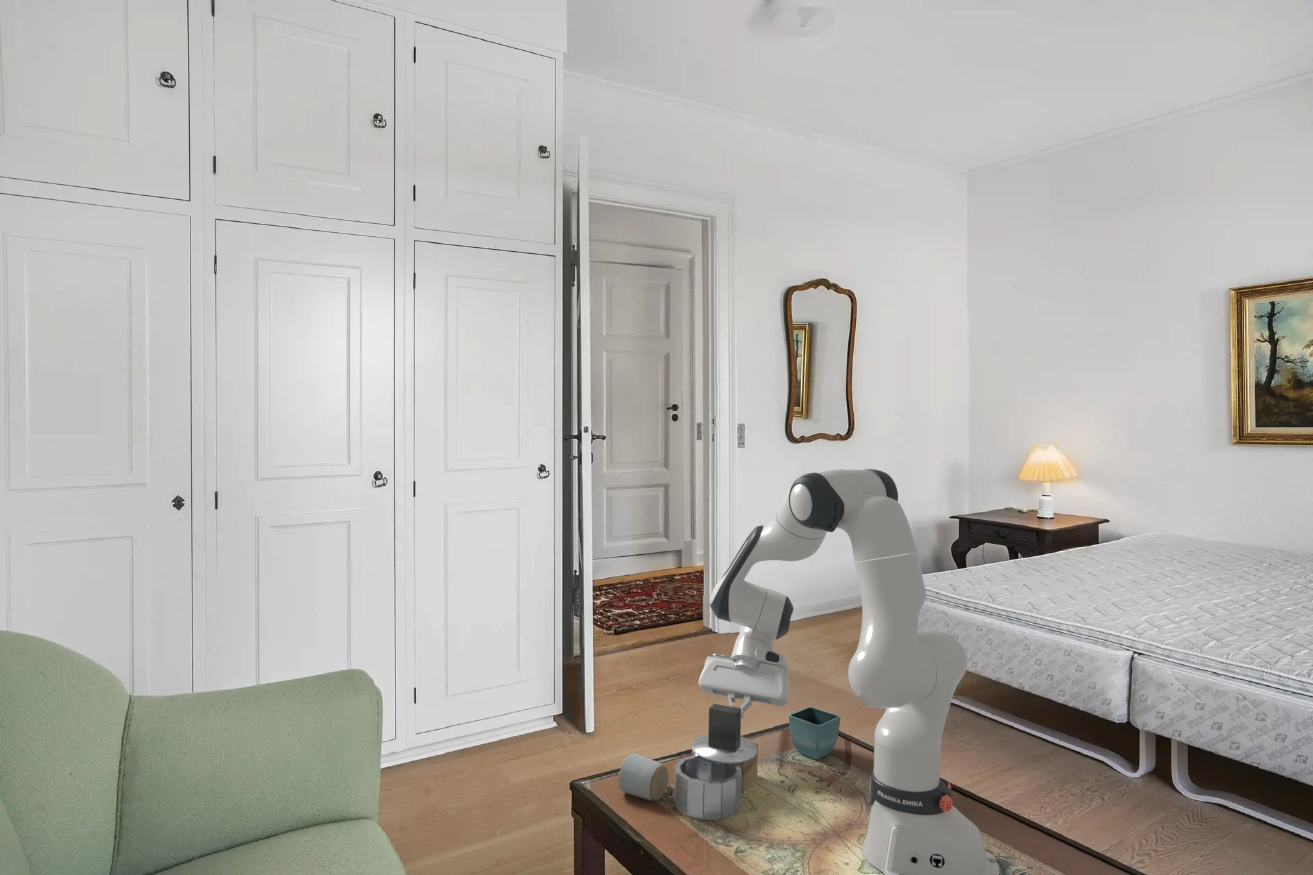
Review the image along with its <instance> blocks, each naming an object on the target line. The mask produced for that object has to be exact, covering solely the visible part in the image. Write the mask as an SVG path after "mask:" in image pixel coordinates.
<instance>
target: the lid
mask: <svg viewBox="0 0 1313 875" xmlns="http://www.w3.org/2000/svg"><path fill="white" fill-rule="evenodd" d="M741 726H742V718H741V709H740V708H735V707H730V705H723V704H716V703H714V704H712V705H711V706H710V707H708V734H704V735H701V736H698V737H697V738H695V739H694V740H693V741H692V743H691V752H692V754H693V755H696V756H697V757H698V758H700V759H702V760H705V761H708V762H711V763H716V764H740V763H744V762H748V761H750V760H752V759H753V758H754V757H755V756H756V755H757V746H756V745H755V744H756V743H755V742H754V741H753V740H751V739H749V738H747V737H744V736H741V732H742V730H741Z"/></svg>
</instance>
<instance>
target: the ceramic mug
mask: <svg viewBox="0 0 1313 875" xmlns="http://www.w3.org/2000/svg"><path fill="white" fill-rule="evenodd" d="M669 775H670V774H669V770H668V768H667V767H666V766H665V765H664V764H662V763H660V762H658V761H656V760H652V759H651V758H648V757H646V756H643V755H640V754H638V753H634V752H633V753H630V754H629V755H627V756H626V757H625V759H624V760H623V762H622V764H621V767H620V770H619V775H618V787H619V790H620V791H621V792H622V793H624V792H625V793H624V794H627V793H628V795H631V796H634V797H637V798H641V799H644V800H647V801H653V802H655V801H656V802H657V801H658V800H660V799H661V798H662V797H663V796H664V795H665V793H666V791H667V789H668V785H669V780H670V779H669Z"/></svg>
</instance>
